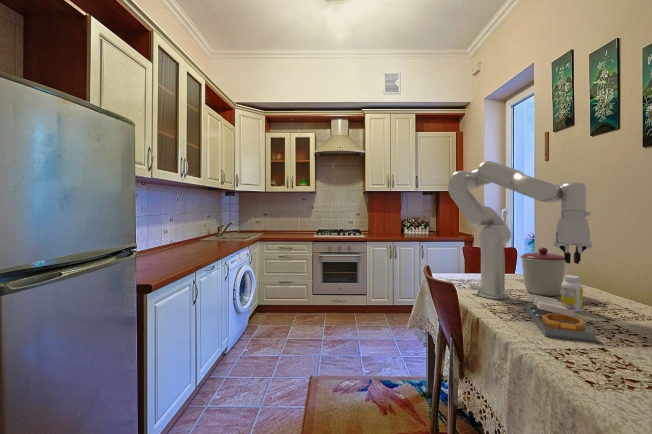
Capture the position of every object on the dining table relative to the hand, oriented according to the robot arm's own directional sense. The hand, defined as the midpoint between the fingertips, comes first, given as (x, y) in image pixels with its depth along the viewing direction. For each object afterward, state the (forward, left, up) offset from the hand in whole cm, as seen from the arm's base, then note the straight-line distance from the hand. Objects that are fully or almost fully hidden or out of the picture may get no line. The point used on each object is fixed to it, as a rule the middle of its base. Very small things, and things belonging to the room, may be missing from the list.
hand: (572, 262), depth 126 cm
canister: (-4, +24, -18) cm, 30 cm away
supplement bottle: (0, 0, -18) cm, 18 cm away
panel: (-10, -21, -18) cm, 30 cm away
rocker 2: (-10, -14, -13) cm, 22 cm away
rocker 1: (-10, -9, -13) cm, 19 cm away
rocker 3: (-10, -19, -13) cm, 26 cm away
